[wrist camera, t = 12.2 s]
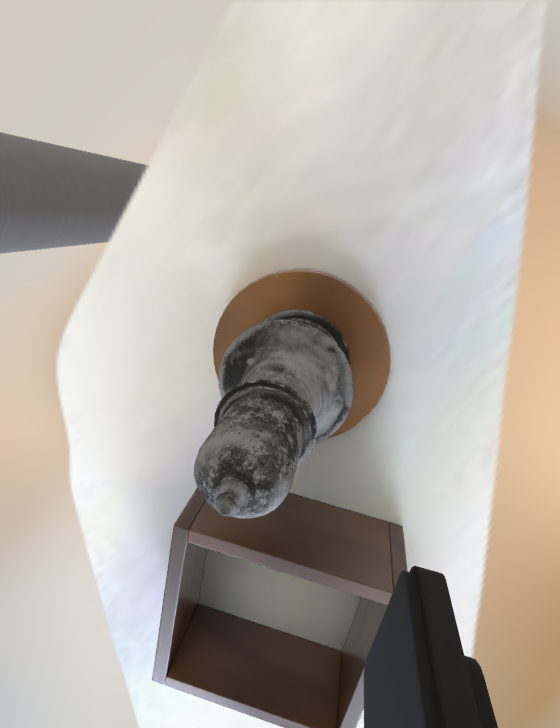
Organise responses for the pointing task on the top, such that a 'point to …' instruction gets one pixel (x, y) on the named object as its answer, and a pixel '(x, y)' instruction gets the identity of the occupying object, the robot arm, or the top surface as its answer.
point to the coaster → (333, 304)
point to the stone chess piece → (273, 410)
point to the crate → (266, 645)
